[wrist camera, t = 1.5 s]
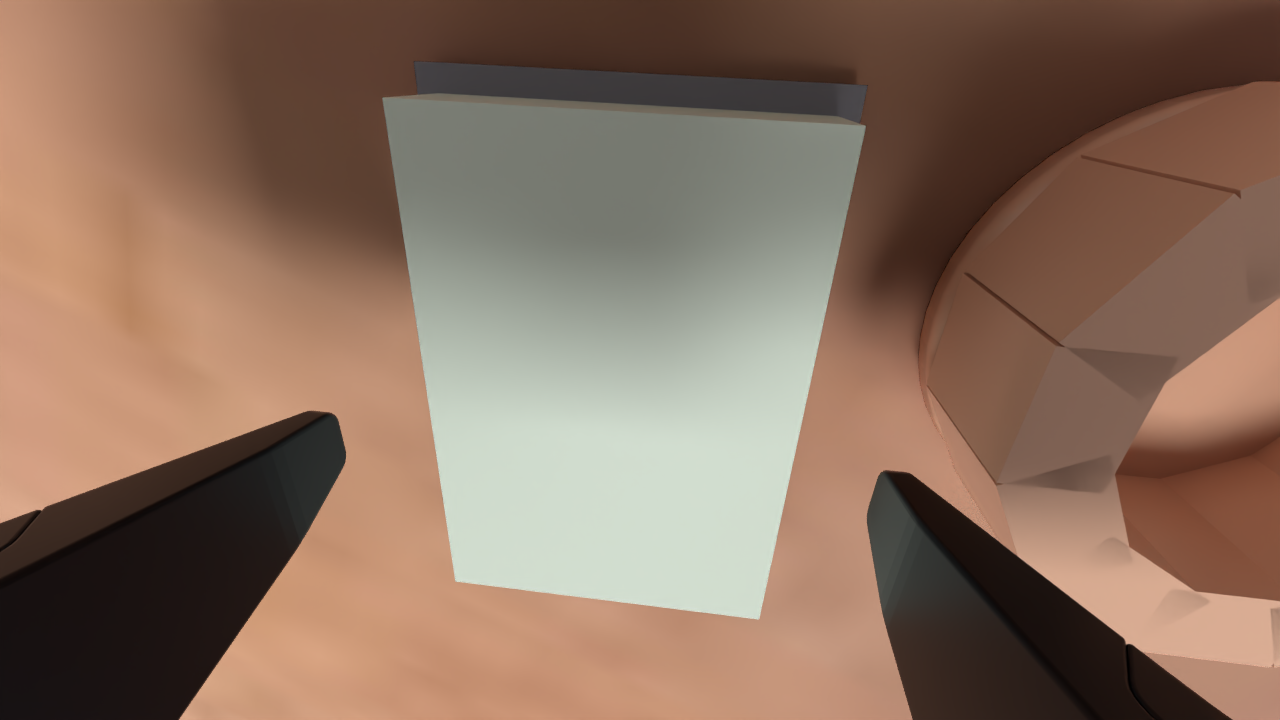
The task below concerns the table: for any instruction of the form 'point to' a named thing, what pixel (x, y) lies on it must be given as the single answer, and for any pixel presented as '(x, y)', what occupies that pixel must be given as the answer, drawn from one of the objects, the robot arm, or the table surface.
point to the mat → (642, 89)
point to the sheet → (618, 333)
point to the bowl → (1130, 372)
